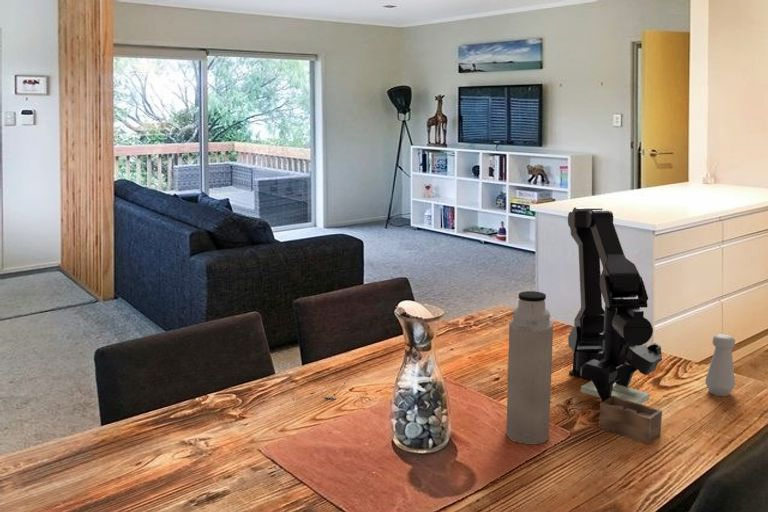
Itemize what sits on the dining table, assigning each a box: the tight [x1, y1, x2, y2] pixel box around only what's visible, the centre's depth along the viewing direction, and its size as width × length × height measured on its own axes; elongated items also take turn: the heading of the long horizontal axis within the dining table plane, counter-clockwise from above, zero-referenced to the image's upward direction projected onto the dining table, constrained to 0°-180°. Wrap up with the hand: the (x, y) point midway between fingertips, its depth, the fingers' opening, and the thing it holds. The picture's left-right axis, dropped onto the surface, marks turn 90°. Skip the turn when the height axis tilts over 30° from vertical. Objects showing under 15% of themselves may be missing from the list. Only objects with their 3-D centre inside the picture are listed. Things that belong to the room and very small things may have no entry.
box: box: [598, 396, 663, 445], centre depth 133 cm, size 10×5×5 cm, turn 44°
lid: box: [580, 380, 651, 405], centre depth 145 cm, size 12×6×2 cm, turn 44°
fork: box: [321, 395, 336, 400], centre depth 155 cm, size 3×16×2 cm, turn 166°
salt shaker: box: [705, 333, 736, 397], centre depth 150 cm, size 6×6×13 cm
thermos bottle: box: [506, 290, 554, 445], centre depth 130 cm, size 8×8×28 cm
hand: (613, 400), depth 145 cm, fingers closed on lid, 6 cm apart
